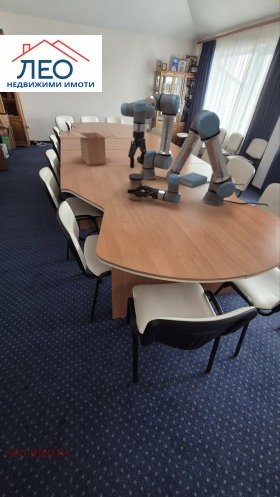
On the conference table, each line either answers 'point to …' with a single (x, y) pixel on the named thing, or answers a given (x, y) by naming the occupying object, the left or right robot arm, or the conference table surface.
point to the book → (192, 179)
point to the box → (92, 146)
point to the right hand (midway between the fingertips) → (130, 188)
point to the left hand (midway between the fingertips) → (137, 165)
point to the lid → (136, 177)
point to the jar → (135, 189)
